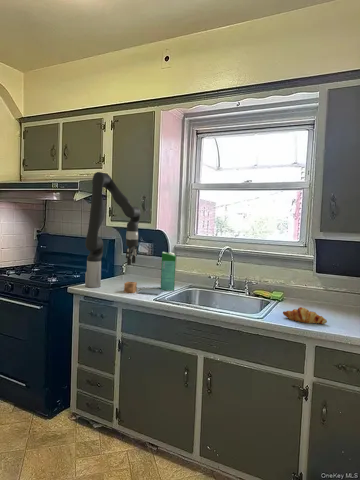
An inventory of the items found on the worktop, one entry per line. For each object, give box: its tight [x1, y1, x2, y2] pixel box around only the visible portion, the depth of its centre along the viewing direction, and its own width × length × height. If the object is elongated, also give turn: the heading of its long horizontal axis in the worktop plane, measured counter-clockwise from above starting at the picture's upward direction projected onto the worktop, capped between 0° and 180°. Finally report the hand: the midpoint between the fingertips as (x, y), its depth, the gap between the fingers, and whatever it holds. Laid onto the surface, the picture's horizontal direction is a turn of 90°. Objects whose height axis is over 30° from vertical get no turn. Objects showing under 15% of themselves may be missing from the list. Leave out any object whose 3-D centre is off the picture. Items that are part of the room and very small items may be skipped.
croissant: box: [282, 306, 328, 325], centre depth 178 cm, size 21×10×8 cm, turn 63°
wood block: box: [123, 281, 138, 294], centre depth 226 cm, size 6×6×6 cm
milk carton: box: [160, 251, 177, 292], centre depth 239 cm, size 9×9×25 cm
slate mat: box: [137, 287, 164, 296], centre depth 228 cm, size 13×13×1 cm
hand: (131, 264), depth 225 cm, fingers open, 8 cm apart
